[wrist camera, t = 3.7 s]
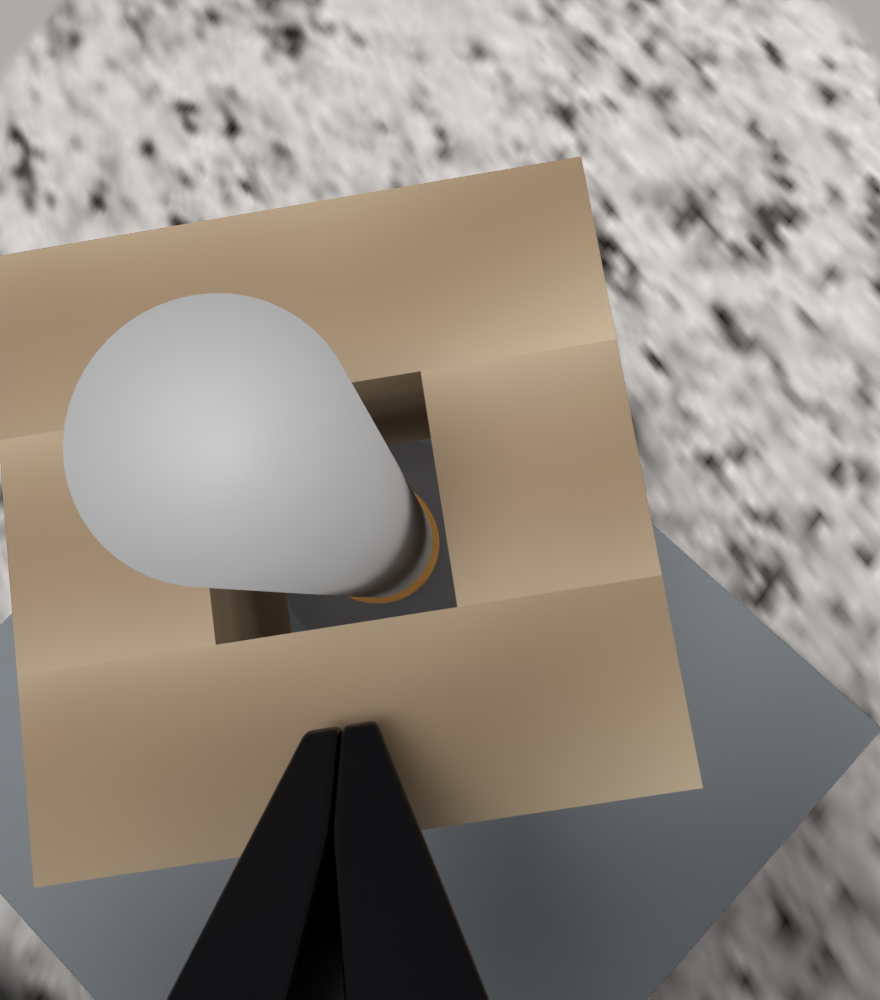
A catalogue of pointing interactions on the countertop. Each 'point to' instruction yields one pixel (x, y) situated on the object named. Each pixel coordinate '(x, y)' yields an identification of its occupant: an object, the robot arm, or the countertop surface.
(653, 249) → the countertop surface
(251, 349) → the post stand
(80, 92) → the countertop surface
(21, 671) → the collar
